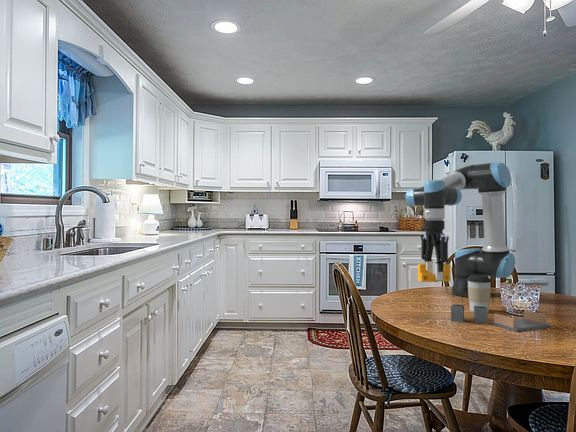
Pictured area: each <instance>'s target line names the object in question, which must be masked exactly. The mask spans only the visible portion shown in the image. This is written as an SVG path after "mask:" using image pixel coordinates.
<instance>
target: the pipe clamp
mask: <svg viewBox="0 0 576 432" xmlns="http://www.w3.org/2000/svg"><path fill="white" fill-rule="evenodd" d="M417 281H418V282H422V283H439V282H451V264H449V263H444V264H443V280H436V273H433V274H431V273H429V272H428V271H427V270H426V267H425V263H417Z"/></svg>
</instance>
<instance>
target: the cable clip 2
mask: <svg viewBox="0 0 576 432" xmlns="http://www.w3.org/2000/svg"><path fill="white" fill-rule="evenodd" d="M473 313H474V314H473V321H474V323H475V324H480V325H481V324H485V325H488V312H487V308H486V307H482V306H474V312H473Z"/></svg>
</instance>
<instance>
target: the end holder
mask: <svg viewBox="0 0 576 432" xmlns="http://www.w3.org/2000/svg"><path fill="white" fill-rule="evenodd" d="M491 325H493V326H496V327H500V328H502V329H505V330H506V329H507V330H509V331H513V332H524V331H531V330H540V329H547V328H550V324H549V323H547V314H543V313H538V312H536V311H535V312H534V311H531V310H527V309H524V310H523V317H517V318H514V317H510V316H506V315H503V314H499V313H493V320H491Z"/></svg>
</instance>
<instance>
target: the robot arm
mask: <svg viewBox="0 0 576 432" xmlns="http://www.w3.org/2000/svg"><path fill="white" fill-rule="evenodd" d="M511 181H512V177H511V171H510V169H509V167H508V166H507V164H506V163H504V162H490V163H479V164H471V165H470V164H469V165H467V166H464V167H461V168H458V169H456V170H454V171H451V172H450V173H448V174H447V176H445V177H443V178H441V179H433V180H432V179H431V180H427V181H425V182H424V185H423V186H421V187H419V188H412V189H408V190H407V191H406V193H405V201H406V203H407V205H408V206H411V207H413V206H414V207H421V206H423V209H424V213H423V214H424V216H423V217H424V218H423V219H425V220H424V222H423V230H426V231H425V234H421V235H420V240H421V250H420V251H421V256H420V257H421V259H422V260H424V264H425V267H426V270H427V271H428V272H429V273H431V274H434V271H433V270H434V266H433V264H434V262H433V259H432V257H433V252H434V251H435V256H436V262H435V274H436V280H443V264H446V263H448V262H449V251H448V250H449V248H448V247H449V244H448V243H449V239H450V237H449V236H448V235H444V232H443V231H444V230H445V223H446V221H445V220H444V219H445V217H446V216H445V215H446V212H445V209H446V208H445V206H451V207H452V206H456V205H458V204H459V203H460V202H461V201H462V198H463V195H462V194H463V193H462V192H461V191H462V190H474V189H475V190H477V192H478V194H479V195H480V196H481V200H482V201H481V202H482V217H483V233H484V235H483V236H484V237H483V238H484V246H483V247H482V248H478V247H477V248H464V249H462V248H461V249H457V250H455V253H454V280H453V284H452V287H451V288H450V289H451V290H450V292H451V295H455V296H459V297H464V298H465V297H466V298H469V296H468V280H467V278H468V277H470V275H475V274H483V275H485V276H488V277H494V278H497V279H499V278H500V279H501V278H502V279H503V278H504V279H505V278H506V279H507V278H509V277H510V276H511V275H512V274H513V272H514V269H515V265H516V257H515V255H514V254H513V253H511V252H510V248H509V247H508V246H506V235H505V234H506V233H505V231H506V230H505V217H504V200H503V199H504V198H503V195H504V193H506V191H507V188H509V187H510V185H511Z"/></svg>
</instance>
